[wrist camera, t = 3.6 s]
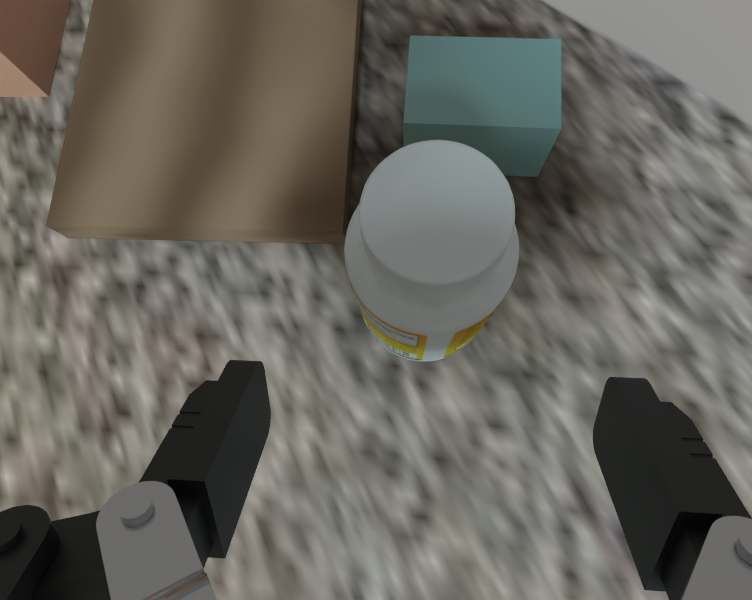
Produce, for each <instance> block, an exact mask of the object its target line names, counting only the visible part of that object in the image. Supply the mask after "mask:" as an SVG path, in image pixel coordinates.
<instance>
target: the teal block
mask: <svg viewBox="0 0 752 600" xmlns="http://www.w3.org/2000/svg"><path fill="white" fill-rule="evenodd" d="M561 129H562V125H561V39H534V38H493V37H453V36H413V35H410V43H409V55H408V68H407V81H406V93H405V106H404V119H403V139H404V147H405V146H407V145H410V144H413V143H417V142H421V141H427V140H447V141H453V142H458V143H462V144H465V145H467V146H470V147H472V148H474V149H476V150H478V151H480V152H481V153H483V154H484V155H485V156H487V157H488V158H489V159H491V160H492V161H493V162H494V163H495V164H496V165H497V167H498V168H499V169H500V171H501V172H502V173H503V175H504V176H526V177H538V175H539V173H540V171H541V169H542V167H543V165H544V163H545V161H546V159H547V157H548V155H549V153H550V151H551V149H552V147H553V145H554V143H555V141H556V139H557V137H558V135H559V133H560V131H561Z"/></svg>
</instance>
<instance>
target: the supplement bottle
mask: <svg viewBox="0 0 752 600" xmlns="http://www.w3.org/2000/svg"><path fill="white" fill-rule="evenodd" d="M344 255H345V264H346V269H347V273H348V277H349V280H350V283H351V286H352V288H353V291H354V294H355V296H356V299H357V302H358V305H359V308H360V310H361V313H362V316H363V318H364V321H365V323H366V325H367V327H368V329H369V331H370V332H371V334H372V335H373V337H374V338H375V339H376V340H377V341H378V342H379V343H380V344H381V345H382V346H383V347H384V348H386V349H387V350H389V351H390V352H392V353H393V354H395V355H397V356H400V357H402V358H405V359H409V360H414V361H435V360H440V359H443V358H446V357H449V356H451V355H453V354H455V353H457V352H458V351H460V350H461V349H463V348H464V347H465V346H466V345H467V344H468V343H469V342H470V341H471V340H472V339H473V338H474V337H475V336H476V335H477V334H478V332H479V331H480V329H481V328H482V327H483V325H484V324H485V323H486V321H487V320H488V319H489V317H490V316H491V315H492V313H493V312H494V311H495V309H496V308H497V306H498V305H499V304H500V303H501V301H502V300H503V299H504V297H505V295H506V294H507V292H508V290H509V289H510V287H511V285H512V282H513V280H514V277H515V274H516V271H517V266H518V261H519V239H518V234H517V229H516V226H515V203H514V197H513V194H512V191H511V188H510V186H509V183H508V181H507V179H506V178H505V176H504V175H503V173H502V172H501V171H500V169H499V168H498V167H497V165H496V164H495V163H494V162H493V161H492V160H491V159H489V158H488V157H487V156H485V155H484V154H483V153H481V152H480V151H478V150H476V149H474V148H472V147H470V146H467V145H465V144H462V143H458V142H453V141H447V140H427V141H421V142H417V143H413V144H410V145H407V146H405V147H402V148H400V149H398V150H396V151H395V152H393V153H392V154H390V155H389V156H388V157H386V158H385V159H384V160H383V161H382V162H381V163H380V164H379V165H378V166H377V167H376V168H375V169H374V171H373V172H372V173H371V175H370V176H369V178H368V180H367V182H366V183H365V186H364V189H363V191H362V195H361V199H360V204H359V205H358V206H357V208H356V210H355V211H354V213H353V215H352V218H351V220H350V222H349V225H348V229H347V233H346V237H345V247H344Z"/></svg>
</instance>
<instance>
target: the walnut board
mask: <svg viewBox="0 0 752 600" xmlns="http://www.w3.org/2000/svg"><path fill="white" fill-rule="evenodd" d="M361 10H362V0H93V5H92V10H91V15H90V20H89V24H88V29H87V34H86V39H85V43H84V48H83V53H82V58H81V62H80V67H79V72H78V77H77V81H76V86H75V91H74V96H73V101H72V105H71V110H70V115H69V120H68V124H67V129H66V134H65V139H64V143H63V148H62V153H61V158H60V162H59V167H58V172H57V177H56V182H55V186H54V191H53V196H52V201H51V205H50V210H49V215H48V220H47V224H46V226H48V227H50V228H52V229H53V230H55V231H57V232H59V233H60V234H62V235H64V236H66V237H67V238H99V239H145V240H192V241H238V242H284V243H331V244H345V237H346V233H347V229H348V218H349V202H350V186H351V170H352V154H353V138H354V122H355V106H356V90H357V74H358V58H359V42H360V26H361Z"/></svg>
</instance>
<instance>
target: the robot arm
mask: <svg viewBox="0 0 752 600" xmlns="http://www.w3.org/2000/svg"><path fill="white" fill-rule="evenodd" d="M270 420H271V410H270V403H269V396H268V390H267V383H266V377H265V370H264V366H263V363H262V362H261V361H242V360H230V361H229V362H228V363H227V364H226V366H225V368H224V370H223V372H222V374H221V376H220V378H219V380H218V381H209V380H206V381H205V382H204V383H203V384H201V385H200V386H199V387H198V388H197V389H195V390H194V391H193V392H192V393H191V394H190V395H189V396H188V398H187V400H186V401H185V403H184V405H183V407H182V408H181V410H180V414H179V415H177V417H176V419H175V421H174V422H173V424H172V428H171V429H169V431H168V433H167V434H166V436H165V438H164V440H163V441H162V443H161V445H160V447H159V448H158V450H157V452H156V454H155V455H154V457H153V459H152V461H151V462H150V464H149V466H148V468H147V469H146V471H145V473H144V475H143V476H142V478H141V480H140V481H139V483H135V484H133V485H130V486H128V487H126V488H124V489H122V490H120V491H119V492H117V493H116V494H115V495H113V496H112V497H111V498H110V499H109V500H108V501H107V502H106V503H105V504H104V506H103V507H102V509H101V510H100V511H96V512H93V513H89V514H84V515H79V516H75V517H70V518H65V519H61V520H56V521H52V522H51V520H50V518H49V516H48V514H47V513H46V511H45V510H43V509H42V508H40V507H37V506H31V505H24V506H17V507H13V508H10V509H7V510H4V511H2V512H0V600H216V597H215V595H214V592H213V589H212V587H211V584H210V581H209V579H208V577H207V574H206V573H205V572H204V570H203V569H204V566H205V563H206V561H207V558H208V557H212V558H225V557H226V554H227V551H228V548H229V546H230V543H231V540H232V537H233V534H234V531H235V528H236V525H237V523H238V520H239V517H240V514H241V511H242V508H243V505H244V502H245V500H246V497H247V494H248V491H249V488H250V485H251V482H252V480H253V477H254V474H255V471H256V468H257V465H258V462H259V459H260V457H261V454H262V451H263V448H264V445H265V442H266V439H267V436H268V433H269V428H270ZM593 445H594V450H595V454H596V457H597V460H598V463H599V465H600V468H601V471H602V474H603V476H604V479H605V482H606V485H607V487H608V490H609V493H610V496H611V499H612V501H613V504H614V507H615V510H616V512H617V515H618V518H619V521H620V523H621V526H622V529H623V532H624V534H625V537H626V540H627V543H628V546H629V548H630V551H631V554H632V557H633V559H634V562H635V565H636V568H637V570H638V573H639V576H640V579H641V582H642V584H643V587H644V590H653V591H666V592H667V595H668V598H669V600H752V518H751V517H750V515H749V513H748V512H747V510H746V508H745V507H744V505H743V504H742V502H741V500H740V499H739V497H738V495H737V494H736V492H735V490H734V489H733V487H732V485H731V484H730V482H729V481H728V479H727V477H726V476H725V474H724V472H723V471H722V469H721V467H720V466H719V464H718V463H717V461H716V459H713V457H712V455H713V454H712V453H711V451H710V449H709V448H708V446H707V444H706V443H705V442H703V438H702V436H701V435H700V433H699V431H698V430H697V428H696V426H695V425H694V423H693V422H692V420H691V419H690V418H689V417H688V416H687V415H685V414H684V413H683V412H682V411H681V410H680V409H678V408H677V407H676V406H675V405H674V404H673V403H671V402H660V400H659V399H658V397H657V395H656V393H655V391H654V390H653V388H652V386H651V384H650V383H649V381H648V380H647V379H644V378H623V377H610V378H608V380H607V382H606V384H605V388H604V391H603V395H602V398H601V402H600V406H599V409H598V413H597V416H596V420H595V424H594V429H593Z"/></svg>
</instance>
